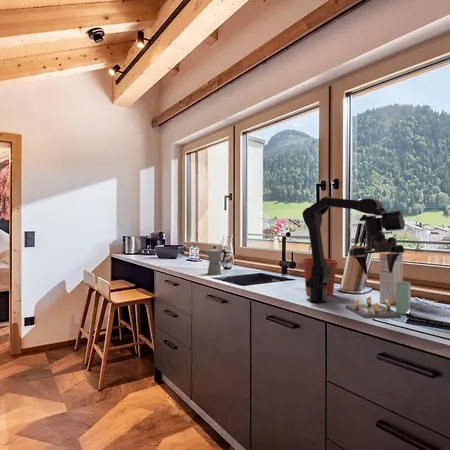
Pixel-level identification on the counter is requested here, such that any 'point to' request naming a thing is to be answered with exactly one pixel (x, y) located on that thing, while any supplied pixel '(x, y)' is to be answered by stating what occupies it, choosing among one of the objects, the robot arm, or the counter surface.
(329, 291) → the flower pot
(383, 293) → the cracker box
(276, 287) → the counter surface
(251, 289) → the counter surface
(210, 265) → the coffeepot
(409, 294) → the block
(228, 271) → the counter surface
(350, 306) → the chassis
